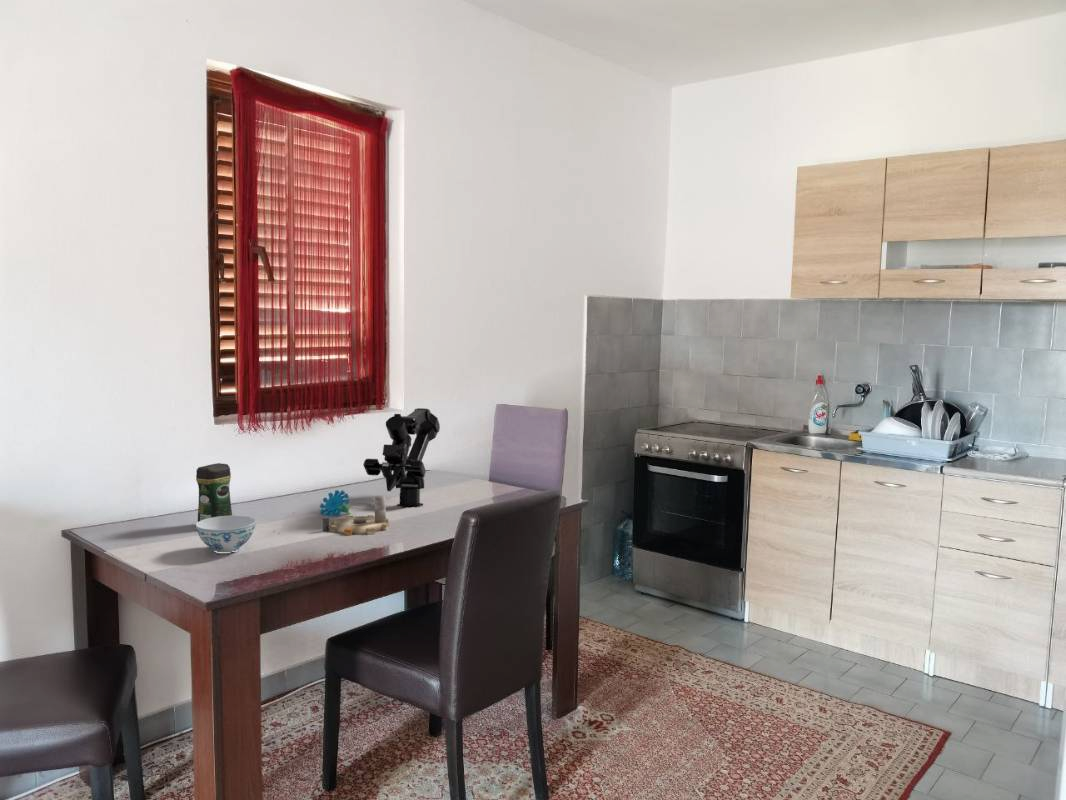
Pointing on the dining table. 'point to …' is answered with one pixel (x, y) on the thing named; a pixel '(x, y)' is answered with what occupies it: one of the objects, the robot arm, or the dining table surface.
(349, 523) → the turntable
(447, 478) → the dining table surface
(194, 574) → the dining table surface
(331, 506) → the gear
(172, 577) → the dining table surface
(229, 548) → the chinaware
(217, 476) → the coffee jar
